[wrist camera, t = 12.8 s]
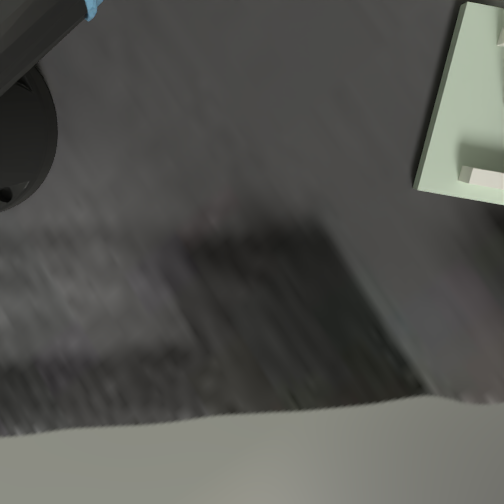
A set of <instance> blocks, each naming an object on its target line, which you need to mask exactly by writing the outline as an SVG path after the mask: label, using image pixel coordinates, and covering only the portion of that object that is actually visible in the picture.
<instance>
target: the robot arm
mask: <svg viewBox="0 0 504 504" xmlns="http://www.w3.org/2000/svg"><path fill="white" fill-rule="evenodd" d="M102 2H103V0H0V212H2V211H5V210H7V209H10V208H12V207H14V206H16V205H18V204H20V203H21V202H23V201H24V200H26V199H27V198H28V197H30V196H31V195H32V194H33V193H34V192H35V191H36V190H37V189H38V188H39V186H40V185H41V184H42V183H43V181H44V179H45V178H46V176H47V174H48V172H49V170H50V168H51V166H52V163H53V160H54V157H55V153H56V147H57V135H58V130H57V119H56V113H55V108H54V105H53V101H52V98H51V95H50V93H49V91H48V88H47V86H46V84H45V82H44V80H43V79H42V77H41V75H40V74H39V72H38V71H37V69H36V68H35V66H34V65H35V64H36V63H37V62H38V61H39V60H40V59H42V58H43V57H44V56H45V55H46V54H47V53H48V52H49V51H50V50H51V49H52V48H53V47H54V46H56V45H57V44H58V43H59V42H60V41H61V40H62V39H63V38H64V37H65V36H66V35H67V34H68V33H70V32H71V31H72V30H73V29H74V28H75V27H76V26H77V25H78V24H79V23H80V22H81V21H82V20H84V19H86V20H87V21H90V20H91V19H92V18H93V17H94V16H95V15H96V12H97V7H98V6H99V5H100V4H101V3H102Z"/></svg>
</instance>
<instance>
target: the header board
mask: <svg viewBox="0 0 504 504" xmlns="http://www.w3.org/2000/svg"><path fill="white" fill-rule="evenodd" d="M413 188H414V189H416V190H421V191H426V192H432V193H438V194H444V195H449V196H455V197H461V198H466V199H472V200H478V201H484V202H489V203H495V204H501V205H504V8H499V7H493V6H488V5H483V4H478V3H473V2H466V3H464V4H462V5H461V6H460V10H459V14H458V18H457V21H456V25H455V29H454V33H453V37H452V40H451V44H450V48H449V52H448V56H447V59H446V63H445V67H444V71H443V75H442V78H441V82H440V86H439V90H438V94H437V97H436V101H435V105H434V109H433V113H432V116H431V120H430V124H429V128H428V132H427V135H426V139H425V143H424V147H423V151H422V154H421V158H420V162H419V166H418V170H417V173H416V177H415V181H414V185H413Z"/></svg>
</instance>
